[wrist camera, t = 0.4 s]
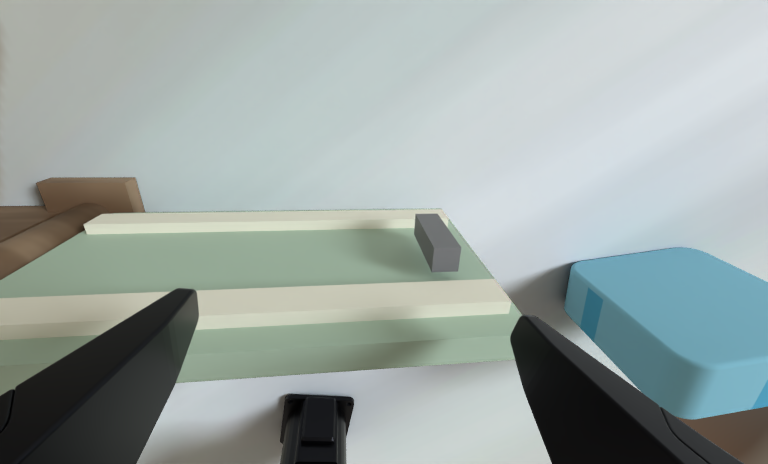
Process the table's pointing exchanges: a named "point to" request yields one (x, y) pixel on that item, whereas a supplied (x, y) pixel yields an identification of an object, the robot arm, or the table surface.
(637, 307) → the data package
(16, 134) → the table surface
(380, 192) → the table surface
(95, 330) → the sage green panel
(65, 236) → the brown piece
